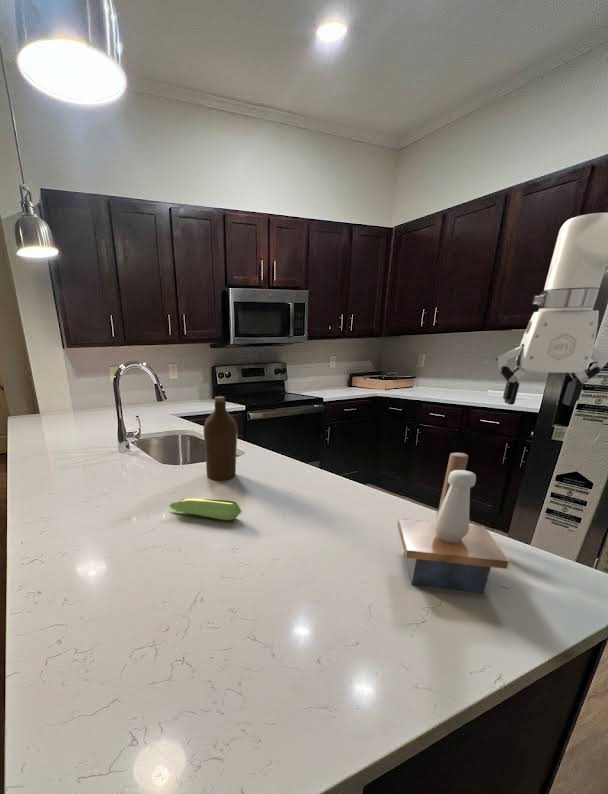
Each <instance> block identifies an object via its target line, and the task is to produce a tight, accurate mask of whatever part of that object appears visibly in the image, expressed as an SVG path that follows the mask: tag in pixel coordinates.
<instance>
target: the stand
mask: <svg viewBox="0 0 608 794" xmlns="http://www.w3.org/2000/svg"><path fill="white" fill-rule="evenodd" d="M434 523H435V521H430V520H429V521H427V520H417V519H405V518H398V519H397V529H398V533H399V536H400V541H401V544H402V548H403V557H404V561H405V564H406V569H407V571H408V577H409V580H410V584H411V585H413V586H420V587H429V588H436V589H444V590H452V591H453V590H454V591H460V592H468V593H476V594H484V593H485V590H486V586H487V582H488V579H489V575H490V571H491V568H494V569H495V568H496V569H504V570H507V568H508V565H509V560H508V558H507V556H506V555H505V554H504V552H503V551H502V549H501V548H500V546H499V545H498V544H497V542H496V541H495V540H494V538H493V537H492V535H491V533H490V532H489V531H488V530H487V528H486V527H485V526H483V525H471V524H469V531H468V533H467V534H466V535H465V536H464V537H463V538H462V539H461V540H460V541H459V542H458V543H449V542H445V541H443V540H440V539H438V537H437V534H436V531H435V528H434Z"/></svg>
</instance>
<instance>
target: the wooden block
mask: <svg viewBox="0 0 608 794" xmlns="http://www.w3.org/2000/svg"><path fill="white" fill-rule="evenodd" d="M468 460H469V455H468V454H466V453H465V452H451V453H450V454H449V458H448V463H447V467H446V473H445V478H444V483H443V487H442V492H441V495H440V501H439V505H438V509H437V511H436V516H435V518H436V517H437V515H438V513H439V510H440V508H441V506H442V503H443V501H444V499H445V496H446V494H447V492H448V489H449V487H450V485H451V484H449V483H448V477H449V474H450V472H452V471H454V470H466V469H467V465H468Z"/></svg>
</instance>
